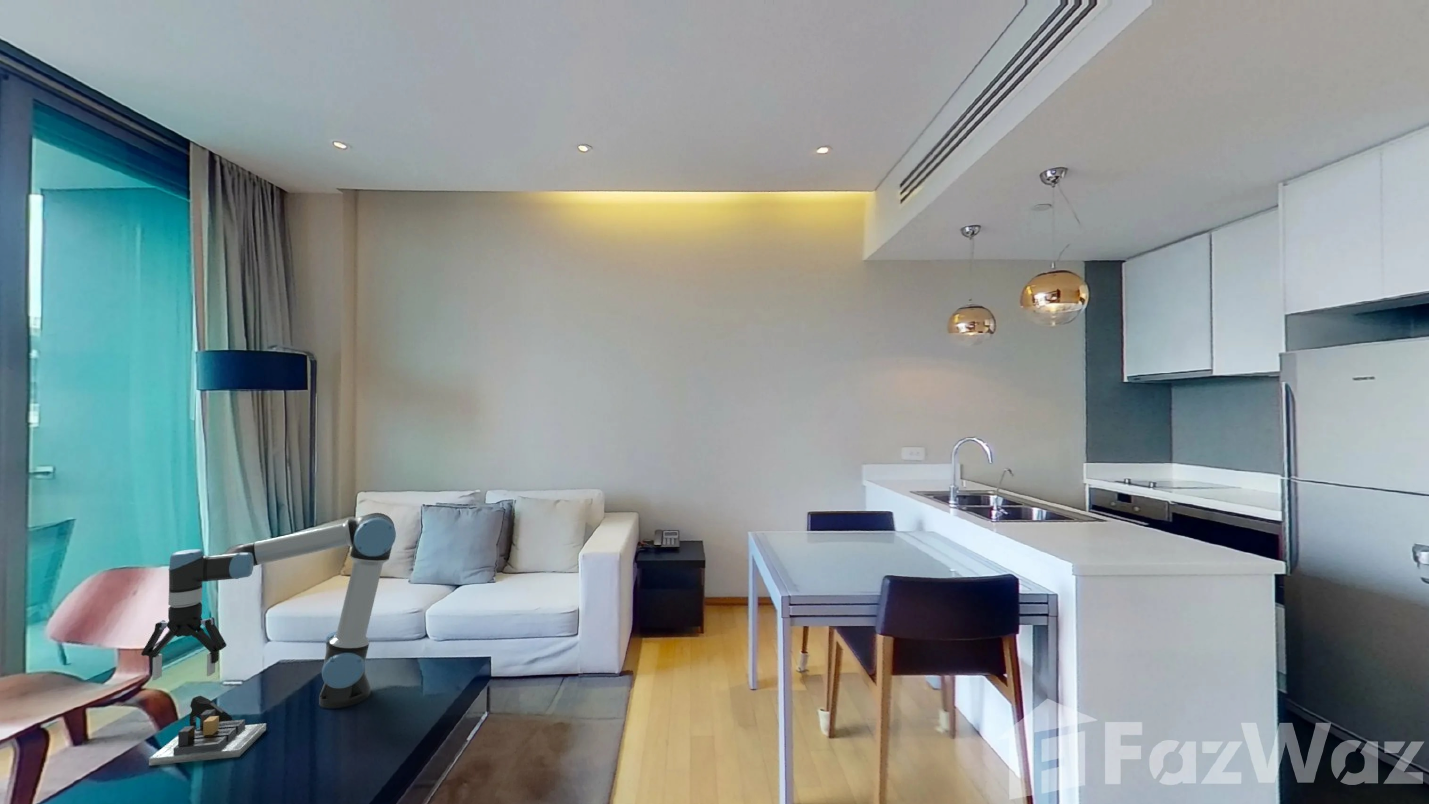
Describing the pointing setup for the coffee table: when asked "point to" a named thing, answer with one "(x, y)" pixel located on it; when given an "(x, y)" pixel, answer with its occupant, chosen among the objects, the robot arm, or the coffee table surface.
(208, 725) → the handle
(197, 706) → the gun
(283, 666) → the coffee table surface
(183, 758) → the panel
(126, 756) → the coffee table surface
